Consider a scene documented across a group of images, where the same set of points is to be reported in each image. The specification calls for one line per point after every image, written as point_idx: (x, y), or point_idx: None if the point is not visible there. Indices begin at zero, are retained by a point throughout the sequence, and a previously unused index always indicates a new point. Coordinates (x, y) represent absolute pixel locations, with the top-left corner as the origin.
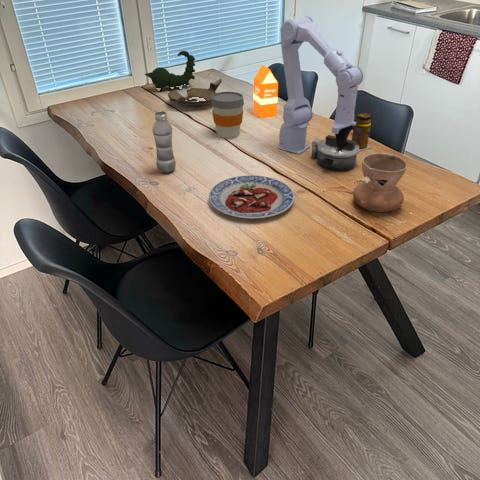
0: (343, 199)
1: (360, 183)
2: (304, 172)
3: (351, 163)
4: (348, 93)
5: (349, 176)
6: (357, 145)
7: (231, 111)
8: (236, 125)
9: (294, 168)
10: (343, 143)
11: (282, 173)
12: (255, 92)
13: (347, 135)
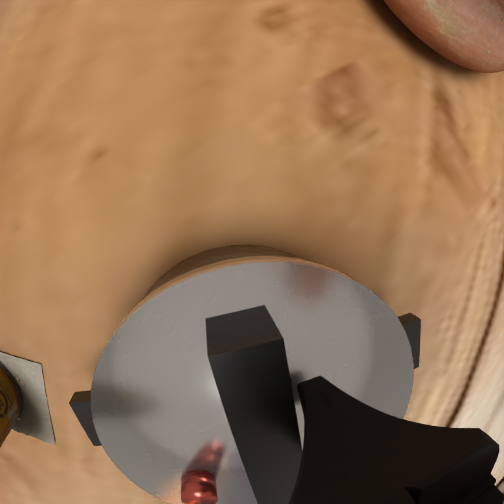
0: (486, 109)
1: (499, 45)
2: (419, 371)
3: (263, 254)
4: None
5: (327, 198)
6: (121, 344)
7: None
8: None
9: (408, 414)
10: (346, 396)
11: (456, 400)
12: None
13: (359, 445)
